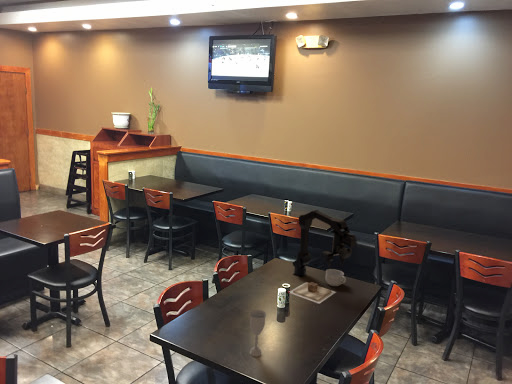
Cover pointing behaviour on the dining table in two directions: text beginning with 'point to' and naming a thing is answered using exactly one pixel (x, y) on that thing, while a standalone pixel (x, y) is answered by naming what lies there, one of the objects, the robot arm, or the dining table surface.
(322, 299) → the mat
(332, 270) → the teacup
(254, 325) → the chalice
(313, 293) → the lid
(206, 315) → the dining table surface
